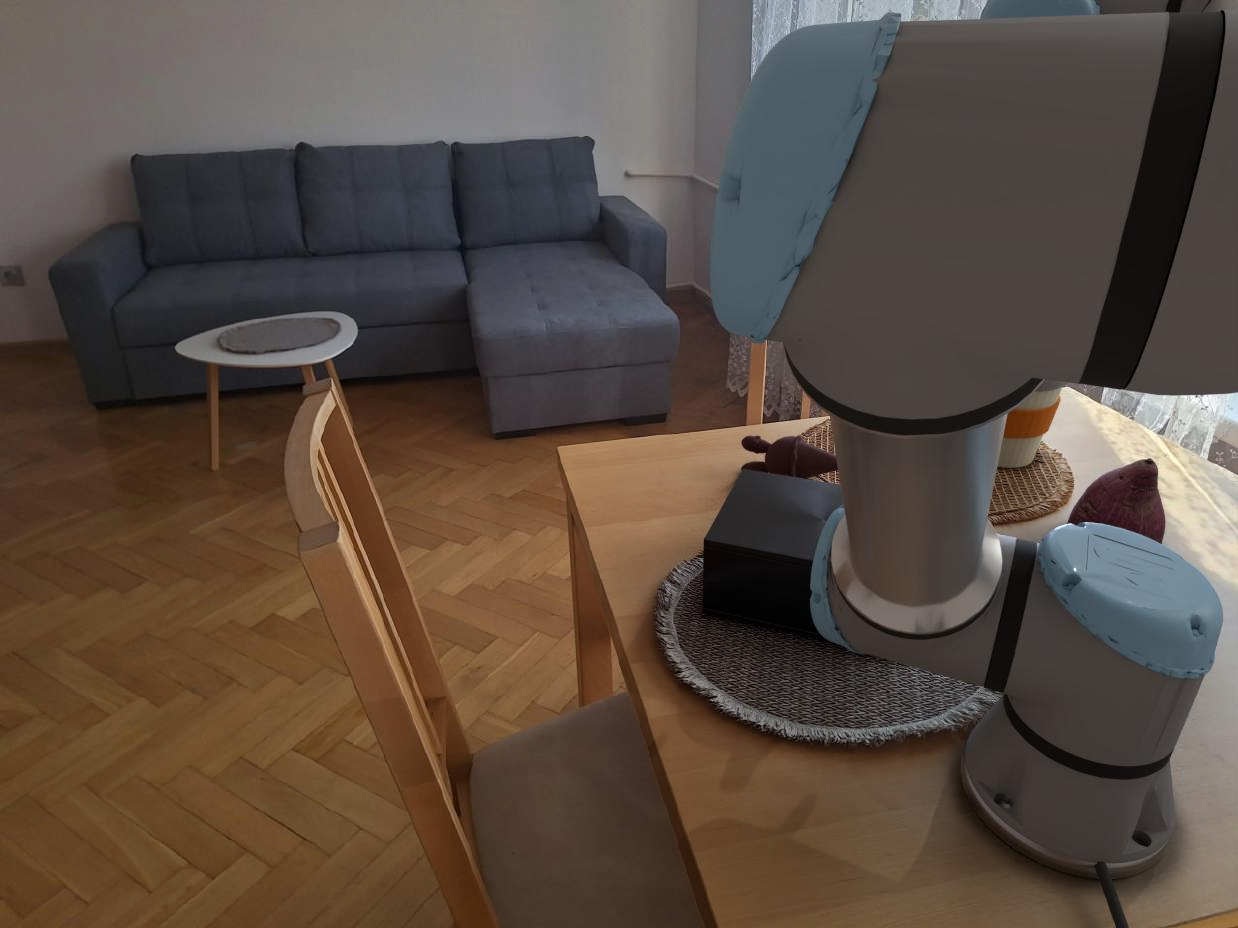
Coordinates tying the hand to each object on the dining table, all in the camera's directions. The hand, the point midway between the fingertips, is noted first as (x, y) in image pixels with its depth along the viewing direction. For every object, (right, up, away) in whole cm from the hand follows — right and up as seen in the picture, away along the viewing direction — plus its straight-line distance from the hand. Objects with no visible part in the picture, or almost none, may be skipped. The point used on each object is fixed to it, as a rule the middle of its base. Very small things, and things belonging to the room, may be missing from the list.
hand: (988, 345), depth 83 cm
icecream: (-13, -14, +31) cm, 36 cm away
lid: (-16, -18, +5) cm, 25 cm away
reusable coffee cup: (+17, -10, +36) cm, 41 cm away
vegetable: (+21, -22, +15) cm, 33 cm away
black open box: (-16, -26, +9) cm, 32 cm away
